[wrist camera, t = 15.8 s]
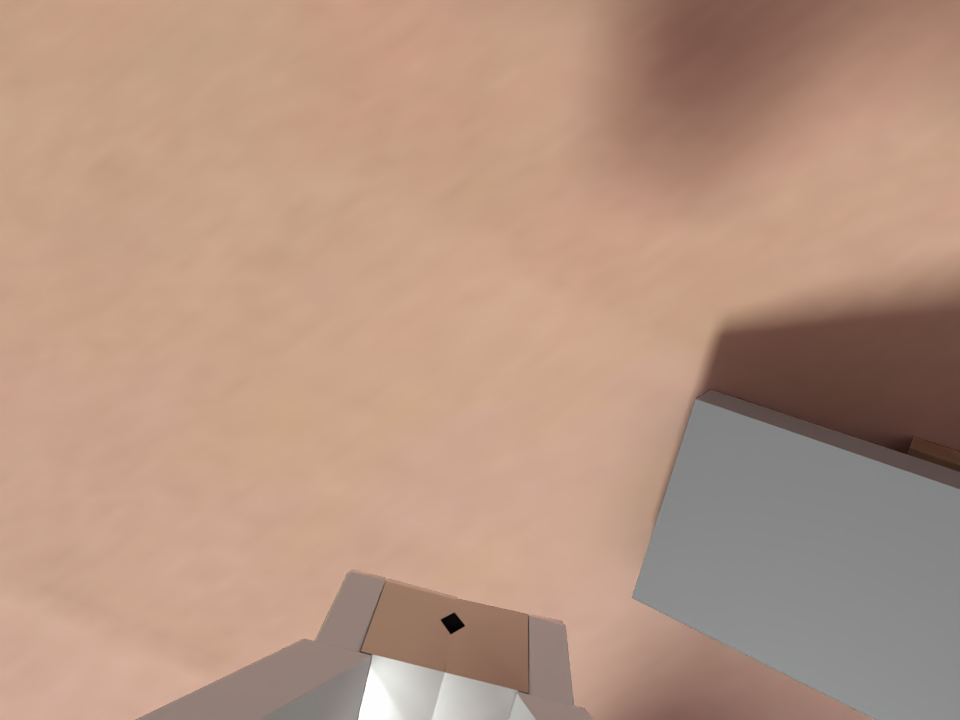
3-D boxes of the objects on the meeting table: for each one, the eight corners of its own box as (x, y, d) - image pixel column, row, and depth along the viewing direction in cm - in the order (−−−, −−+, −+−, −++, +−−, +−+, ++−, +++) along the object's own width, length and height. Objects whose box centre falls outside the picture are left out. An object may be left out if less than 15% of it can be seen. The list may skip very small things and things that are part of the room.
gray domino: (631, 597, 16) (1194, 879, 11) (696, 398, 15) (1351, 623, 10) (650, 572, 17) (1159, 814, 13) (710, 389, 16) (1293, 582, 11)
